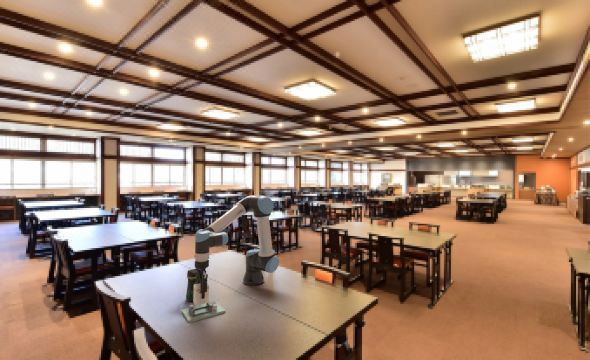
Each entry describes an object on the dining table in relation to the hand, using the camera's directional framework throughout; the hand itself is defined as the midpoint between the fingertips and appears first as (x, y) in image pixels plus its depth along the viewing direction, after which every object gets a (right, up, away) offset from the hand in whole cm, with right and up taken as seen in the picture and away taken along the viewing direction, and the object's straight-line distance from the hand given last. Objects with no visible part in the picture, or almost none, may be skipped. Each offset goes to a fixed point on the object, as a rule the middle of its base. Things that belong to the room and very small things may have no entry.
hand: (200, 302), depth 150 cm
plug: (0, 0, 0) cm, 0 cm away
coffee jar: (-10, -6, +19) cm, 22 cm away
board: (+1, -6, +2) cm, 7 cm away
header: (0, -5, 0) cm, 5 cm away
